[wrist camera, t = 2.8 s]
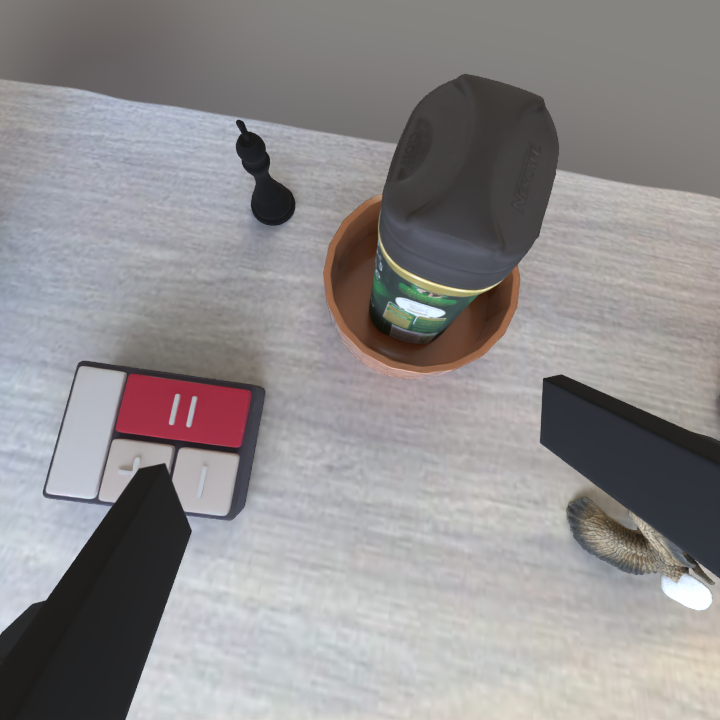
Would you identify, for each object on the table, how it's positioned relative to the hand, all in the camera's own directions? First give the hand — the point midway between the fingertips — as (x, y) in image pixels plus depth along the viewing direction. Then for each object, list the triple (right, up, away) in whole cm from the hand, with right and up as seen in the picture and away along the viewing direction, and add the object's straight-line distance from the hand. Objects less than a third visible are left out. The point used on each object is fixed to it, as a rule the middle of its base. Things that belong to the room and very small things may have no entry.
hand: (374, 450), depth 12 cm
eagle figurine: (+23, -12, +18) cm, 31 cm away
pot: (+5, +9, +21) cm, 24 cm away
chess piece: (-9, +19, +23) cm, 31 cm away
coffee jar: (+5, +9, +21) cm, 23 cm away
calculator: (-17, -4, +19) cm, 26 cm away
